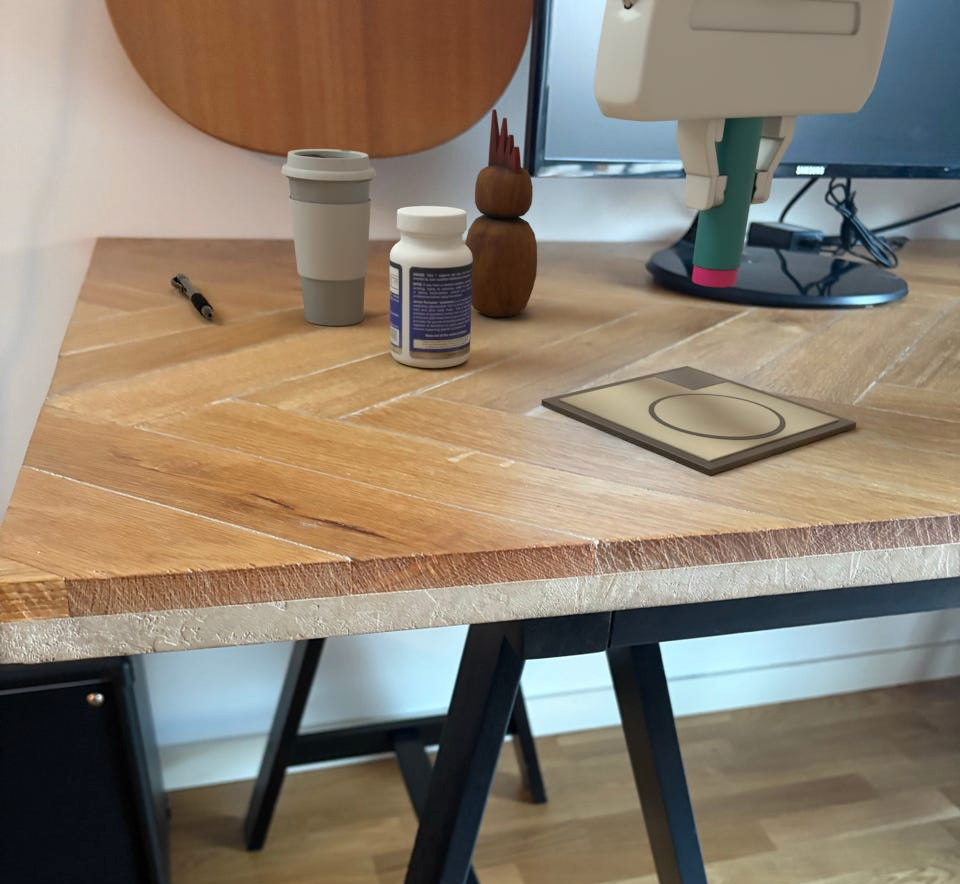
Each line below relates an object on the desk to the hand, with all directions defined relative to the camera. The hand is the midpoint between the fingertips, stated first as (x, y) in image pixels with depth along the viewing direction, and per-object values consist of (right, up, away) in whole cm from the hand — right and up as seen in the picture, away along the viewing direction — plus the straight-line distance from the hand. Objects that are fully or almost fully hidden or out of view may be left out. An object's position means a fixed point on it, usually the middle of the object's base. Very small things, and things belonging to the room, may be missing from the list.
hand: (726, 205), depth 57 cm
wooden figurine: (-13, +2, +27) cm, 29 cm away
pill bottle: (-18, -5, +14) cm, 23 cm away
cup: (-26, +1, +23) cm, 34 cm away
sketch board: (0, -11, +6) cm, 12 cm away
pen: (-38, +3, +25) cm, 46 cm away
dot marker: (0, -4, +2) cm, 4 cm away
